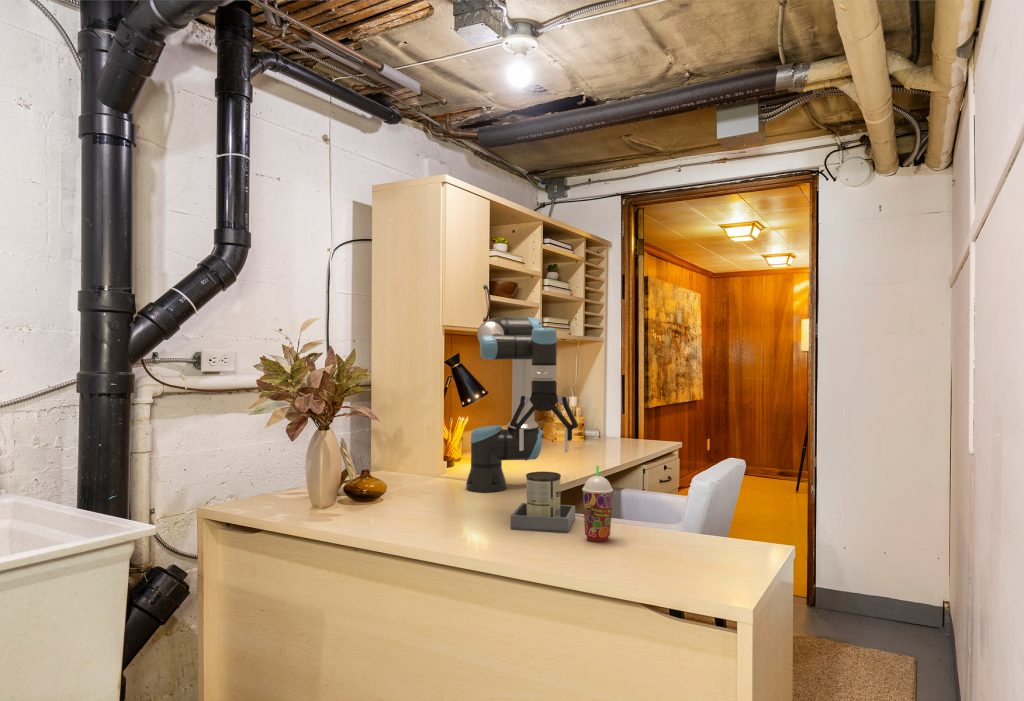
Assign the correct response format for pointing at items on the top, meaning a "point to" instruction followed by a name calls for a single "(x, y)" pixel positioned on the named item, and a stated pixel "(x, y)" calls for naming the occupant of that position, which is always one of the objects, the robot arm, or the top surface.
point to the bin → (543, 520)
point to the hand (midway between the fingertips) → (543, 451)
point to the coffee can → (543, 494)
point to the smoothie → (597, 507)
